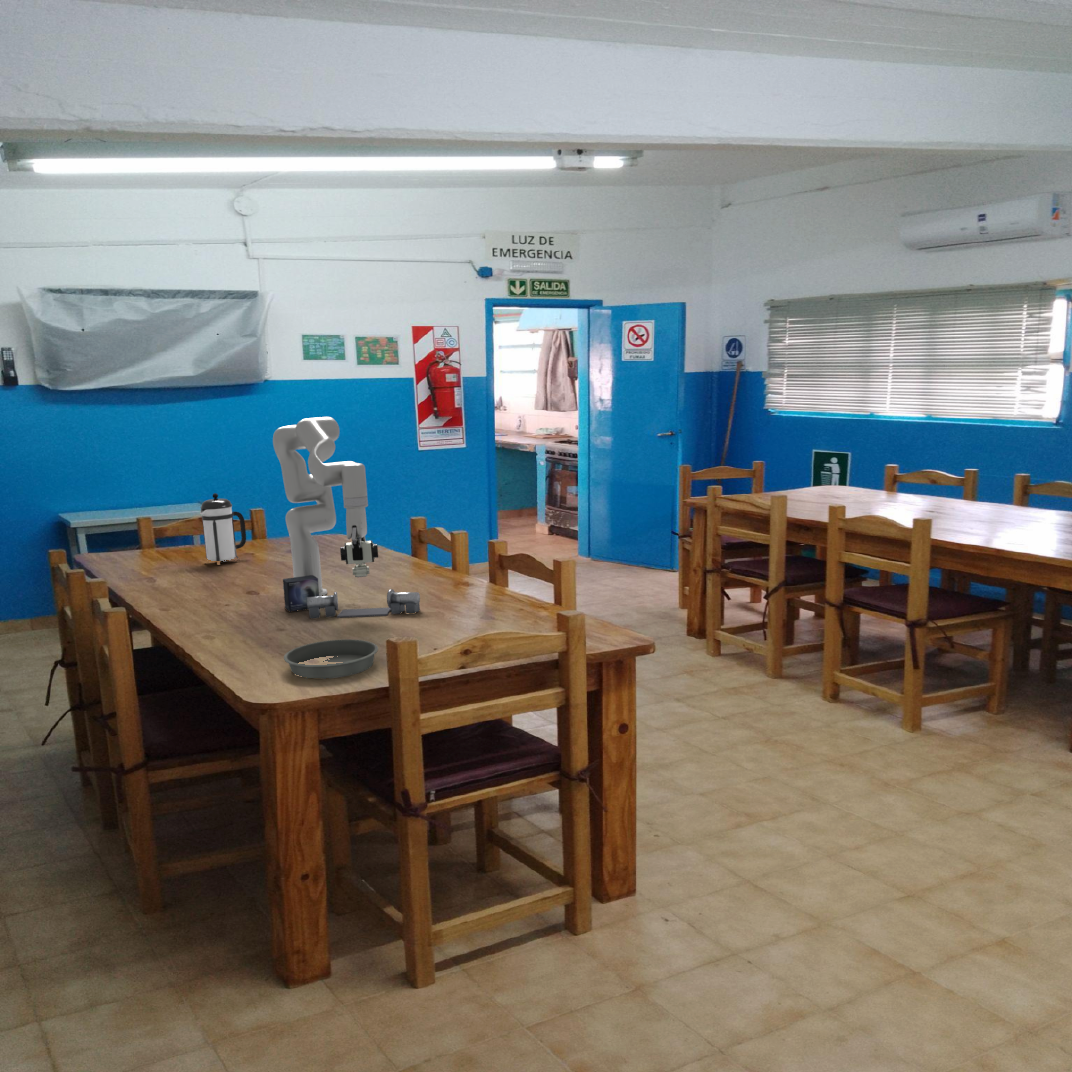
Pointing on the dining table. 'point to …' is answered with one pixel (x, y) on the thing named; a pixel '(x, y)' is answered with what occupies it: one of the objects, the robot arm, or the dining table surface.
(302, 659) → the cake pan
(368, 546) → the pneumatic valve
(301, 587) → the small box
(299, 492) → the robot arm
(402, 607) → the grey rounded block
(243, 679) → the dining table surface
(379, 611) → the pad
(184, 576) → the dining table surface
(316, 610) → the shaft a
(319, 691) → the dining table surface
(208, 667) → the dining table surface
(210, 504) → the coffee press
